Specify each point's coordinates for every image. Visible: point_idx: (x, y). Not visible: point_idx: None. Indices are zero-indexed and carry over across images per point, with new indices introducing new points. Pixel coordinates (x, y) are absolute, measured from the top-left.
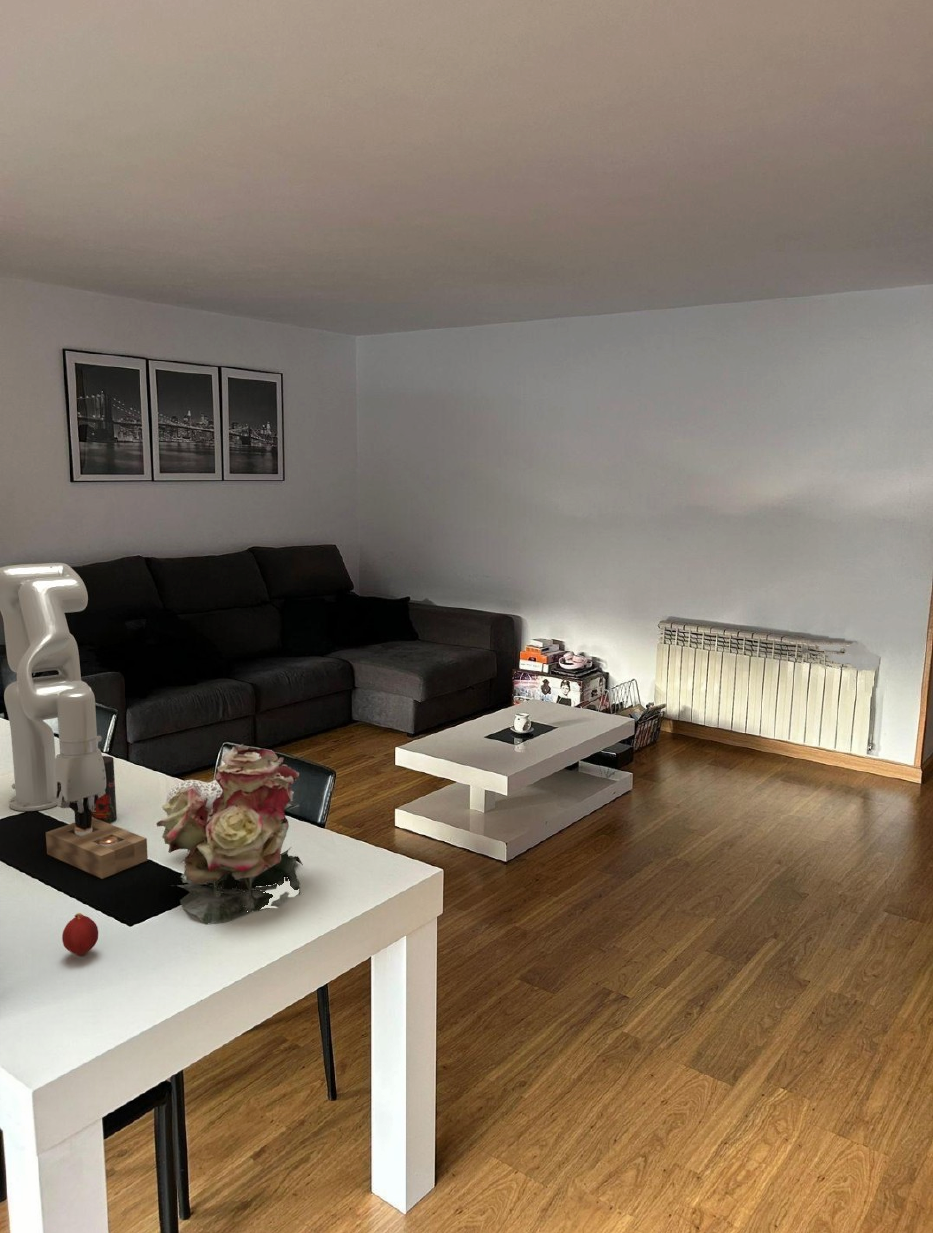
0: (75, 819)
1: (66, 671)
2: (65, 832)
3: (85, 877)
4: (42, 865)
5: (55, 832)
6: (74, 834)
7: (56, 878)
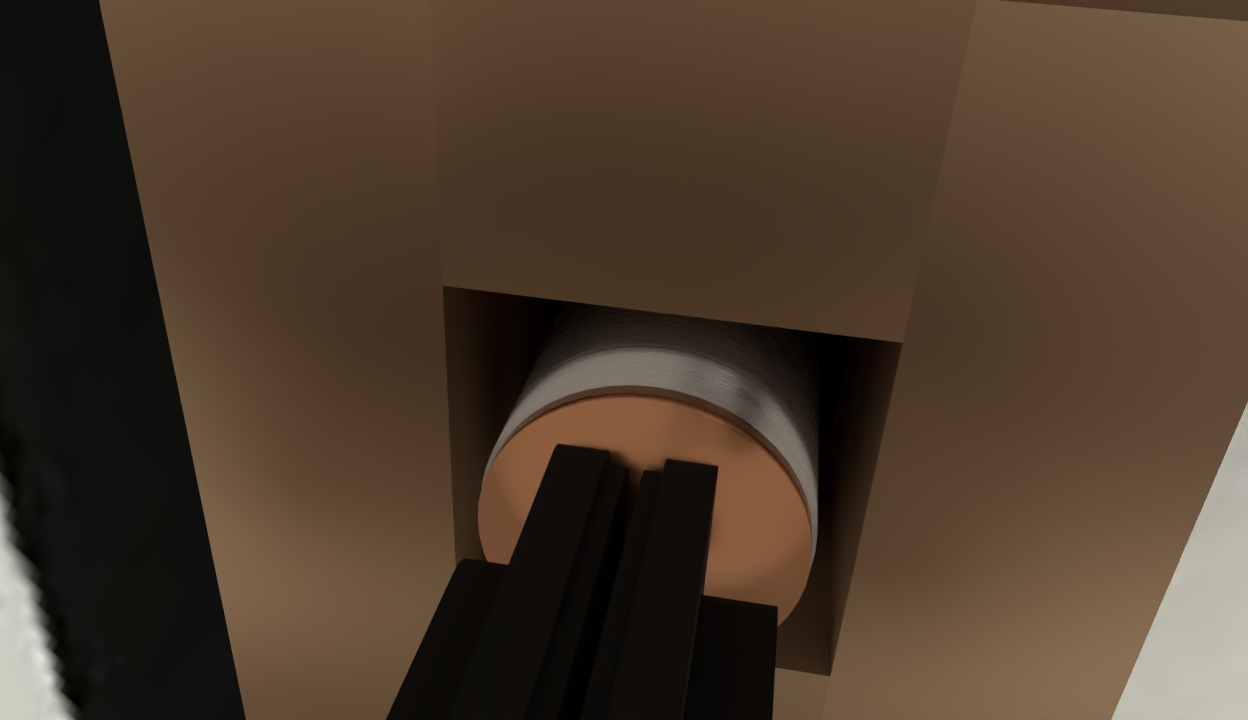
0: (430, 644)
1: None
2: (380, 293)
3: None
4: (124, 158)
5: (239, 122)
6: (439, 495)
7: (124, 532)
